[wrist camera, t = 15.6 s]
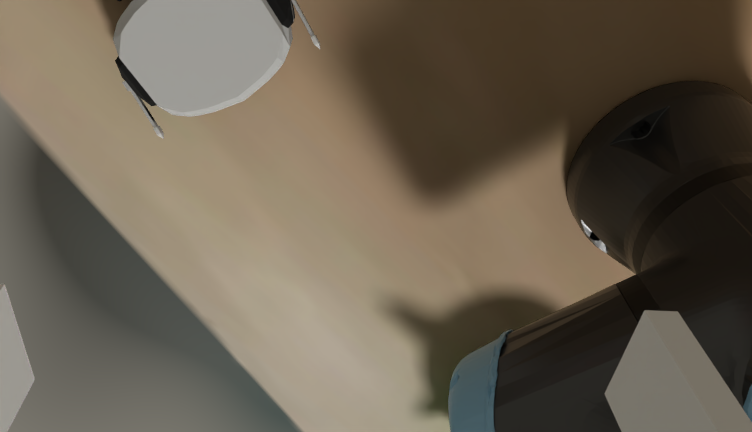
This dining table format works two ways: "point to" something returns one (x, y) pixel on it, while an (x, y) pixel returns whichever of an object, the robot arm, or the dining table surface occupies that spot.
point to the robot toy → (202, 51)
